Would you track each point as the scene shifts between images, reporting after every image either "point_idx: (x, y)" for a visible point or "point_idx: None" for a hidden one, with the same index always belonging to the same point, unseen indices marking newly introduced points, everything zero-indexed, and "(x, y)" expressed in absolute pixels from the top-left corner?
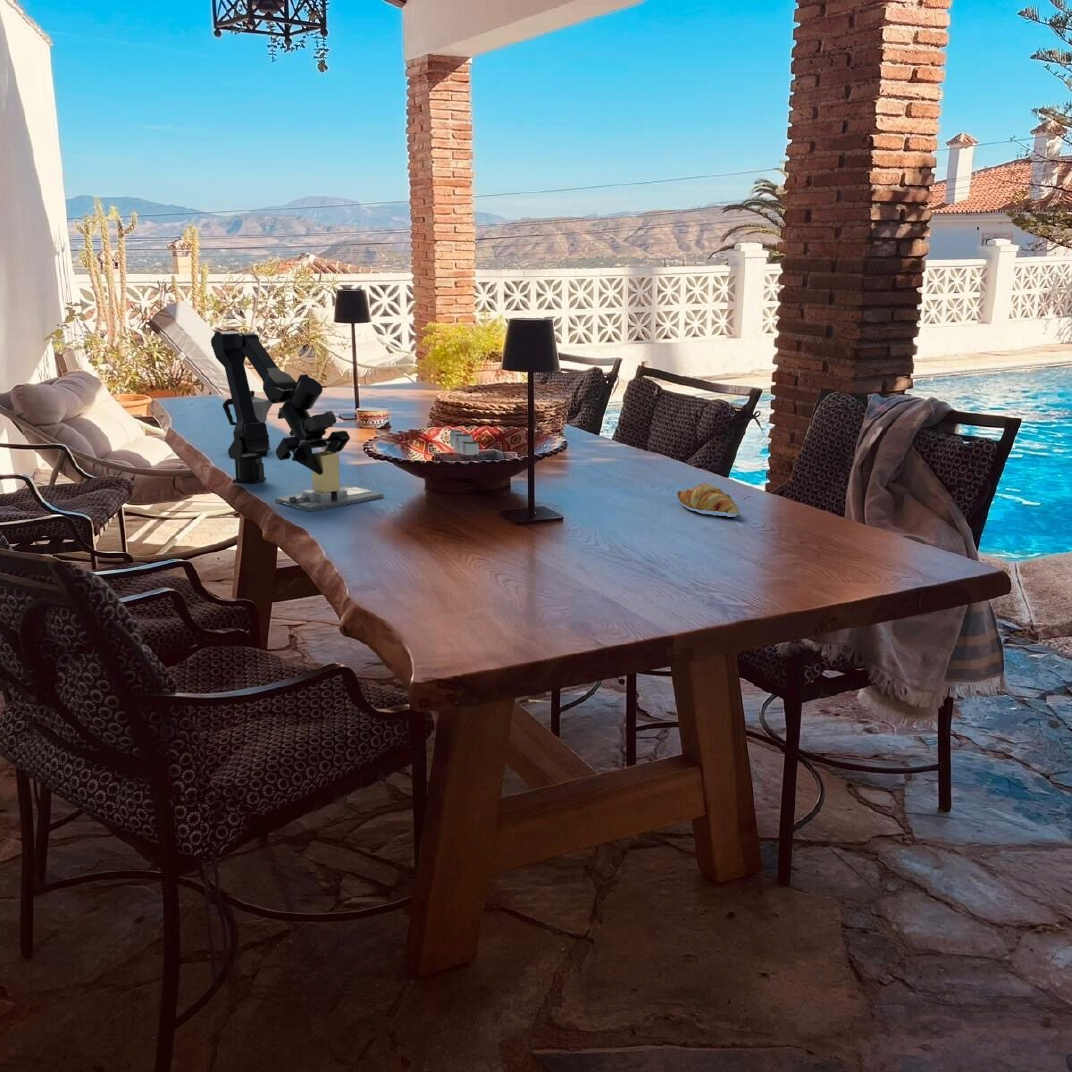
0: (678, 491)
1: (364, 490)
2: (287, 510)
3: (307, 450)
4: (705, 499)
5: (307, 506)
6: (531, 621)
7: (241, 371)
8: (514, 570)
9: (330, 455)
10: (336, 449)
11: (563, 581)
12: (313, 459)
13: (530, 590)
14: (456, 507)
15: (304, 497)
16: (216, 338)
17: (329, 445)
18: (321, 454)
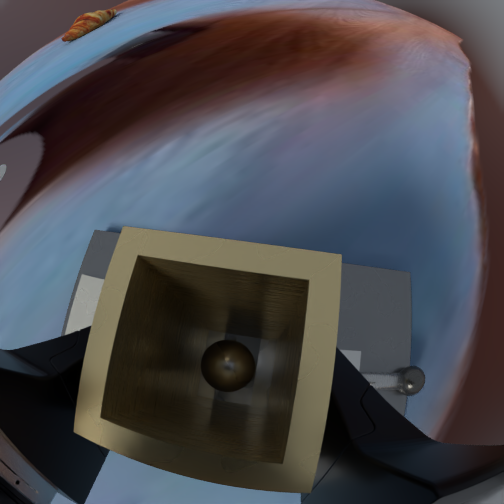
0: (64, 36)
1: (85, 304)
2: (437, 347)
3: (445, 447)
4: (102, 13)
5: (408, 290)
6: (396, 13)
7: None
8: (345, 12)
9: (234, 242)
10: (9, 351)
11: (336, 3)
12: (359, 391)
13: (366, 10)
14: (139, 88)
15: (366, 372)
16: None
17: (6, 412)
18: (181, 438)
